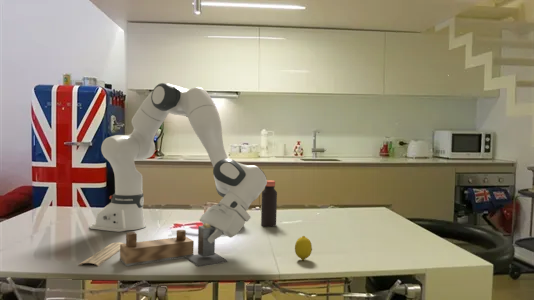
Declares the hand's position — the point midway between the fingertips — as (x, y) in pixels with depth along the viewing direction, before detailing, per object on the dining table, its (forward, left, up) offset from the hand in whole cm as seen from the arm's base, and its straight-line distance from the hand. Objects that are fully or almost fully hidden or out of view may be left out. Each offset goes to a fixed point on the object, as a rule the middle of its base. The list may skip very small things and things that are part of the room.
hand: (204, 239), depth 136 cm
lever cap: (0, 0, -5) cm, 5 cm away
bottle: (+14, +55, -7) cm, 58 cm away
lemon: (+31, +6, -7) cm, 33 cm away
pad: (0, 0, -7) cm, 7 cm away
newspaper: (-34, -1, -8) cm, 35 cm away
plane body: (-16, -1, -7) cm, 17 cm away
